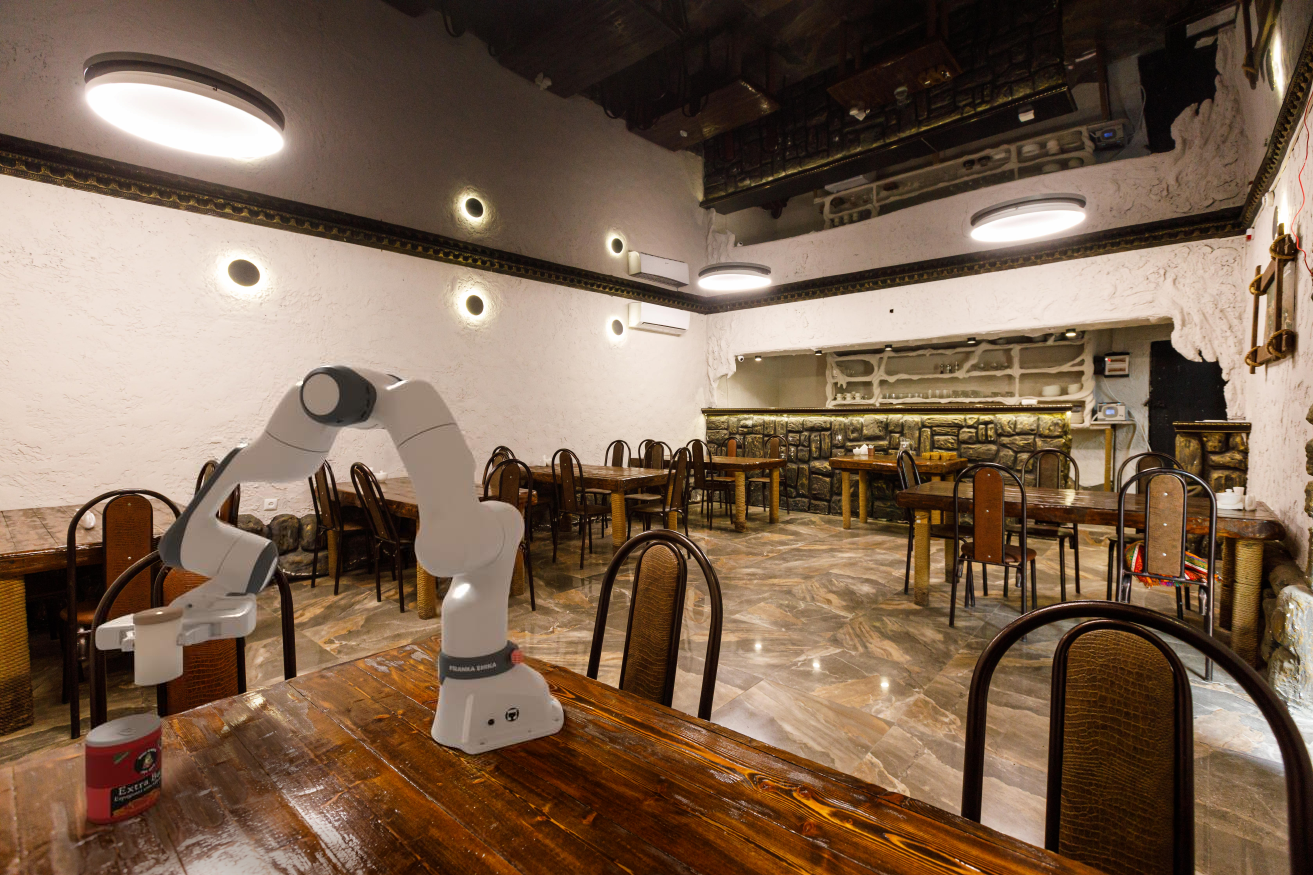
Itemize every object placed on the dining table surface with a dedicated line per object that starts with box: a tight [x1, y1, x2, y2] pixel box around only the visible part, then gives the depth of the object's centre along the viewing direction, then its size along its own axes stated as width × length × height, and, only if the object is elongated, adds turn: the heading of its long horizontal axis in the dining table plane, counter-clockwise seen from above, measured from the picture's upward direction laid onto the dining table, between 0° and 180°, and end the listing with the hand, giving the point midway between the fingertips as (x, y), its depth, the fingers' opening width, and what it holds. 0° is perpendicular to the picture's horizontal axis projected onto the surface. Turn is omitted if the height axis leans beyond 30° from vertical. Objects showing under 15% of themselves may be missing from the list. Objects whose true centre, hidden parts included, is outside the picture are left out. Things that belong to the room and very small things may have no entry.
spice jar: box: [133, 605, 184, 686], centre depth 87 cm, size 6×6×10 cm
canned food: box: [84, 713, 163, 824], centre depth 78 cm, size 8×8×11 cm
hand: (155, 643), depth 86 cm, fingers closed on spice jar, 5 cm apart
